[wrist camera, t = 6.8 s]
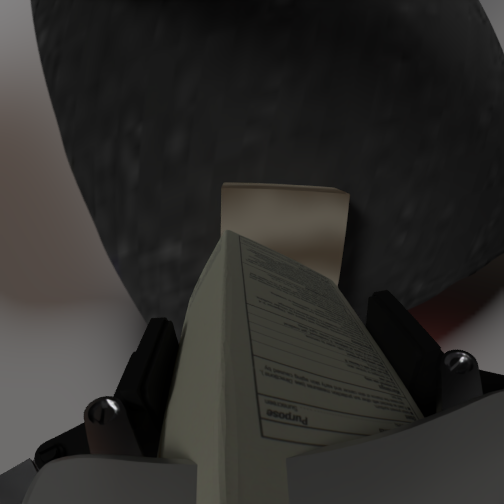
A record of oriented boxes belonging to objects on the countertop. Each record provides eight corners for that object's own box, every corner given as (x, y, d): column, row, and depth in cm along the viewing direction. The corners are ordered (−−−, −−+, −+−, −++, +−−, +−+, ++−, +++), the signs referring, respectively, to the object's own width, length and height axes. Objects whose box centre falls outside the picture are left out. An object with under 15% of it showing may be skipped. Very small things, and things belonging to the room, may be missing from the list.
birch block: (224, 182, 31) (221, 187, 26) (333, 187, 31) (349, 194, 27) (223, 285, 35) (221, 306, 30) (322, 286, 35) (334, 306, 31)
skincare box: (187, 300, 14) (124, 556, 3) (226, 224, 13) (187, 535, 2) (296, 346, 16) (353, 564, 4) (341, 282, 14) (476, 500, 3)
